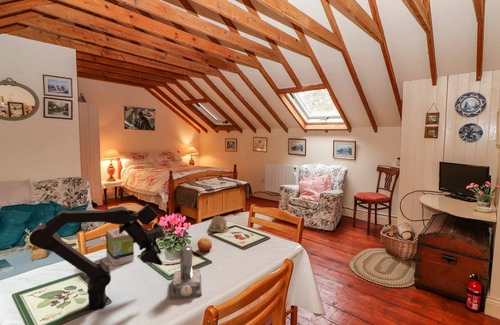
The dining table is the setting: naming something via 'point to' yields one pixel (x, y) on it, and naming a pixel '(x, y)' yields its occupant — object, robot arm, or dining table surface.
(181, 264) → the cylinder
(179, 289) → the scale
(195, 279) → the pan
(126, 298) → the dining table surface
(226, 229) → the ceramic model
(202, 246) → the fruit
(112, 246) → the tea box
